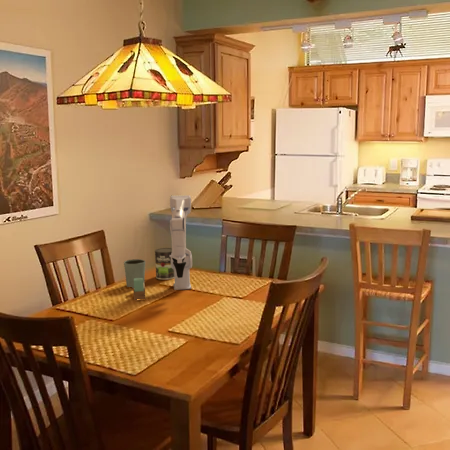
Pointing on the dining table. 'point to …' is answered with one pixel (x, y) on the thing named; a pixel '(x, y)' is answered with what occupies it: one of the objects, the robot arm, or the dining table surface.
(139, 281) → the teal block
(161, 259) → the coffee can
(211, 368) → the dining table surface
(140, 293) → the walnut block
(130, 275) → the teal cup
